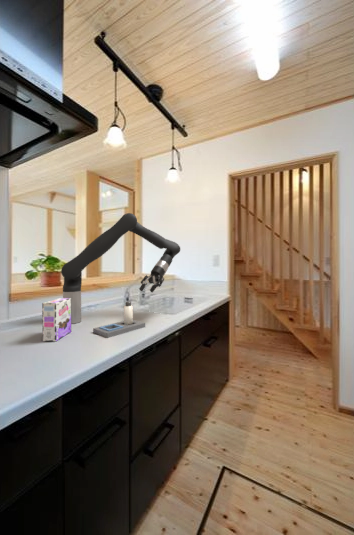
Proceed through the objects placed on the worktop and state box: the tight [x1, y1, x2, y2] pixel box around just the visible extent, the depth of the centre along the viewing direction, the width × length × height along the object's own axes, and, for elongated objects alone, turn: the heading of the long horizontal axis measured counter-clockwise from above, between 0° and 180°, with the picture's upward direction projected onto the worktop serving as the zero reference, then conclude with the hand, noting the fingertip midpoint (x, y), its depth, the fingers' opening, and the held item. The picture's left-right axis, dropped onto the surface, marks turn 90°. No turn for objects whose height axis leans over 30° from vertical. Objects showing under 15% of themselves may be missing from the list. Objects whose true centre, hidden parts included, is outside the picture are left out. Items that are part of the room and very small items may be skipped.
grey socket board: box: [92, 319, 146, 339], centre depth 111 cm, size 12×22×2 cm, turn 140°
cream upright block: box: [123, 300, 134, 326], centre depth 115 cm, size 4×4×13 cm
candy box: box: [41, 297, 72, 342], centre depth 101 cm, size 14×6×16 cm, turn 179°
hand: (145, 290), depth 124 cm, fingers open, 8 cm apart
